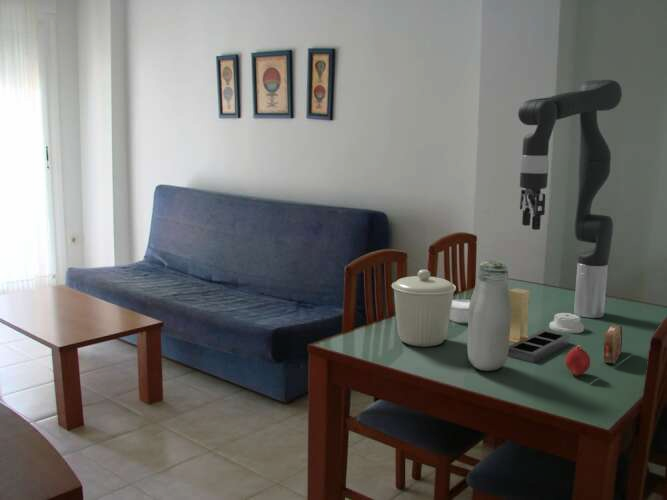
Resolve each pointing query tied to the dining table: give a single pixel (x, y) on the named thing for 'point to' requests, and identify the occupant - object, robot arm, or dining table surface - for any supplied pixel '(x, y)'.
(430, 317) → the canister
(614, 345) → the tin
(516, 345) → the compartment tray
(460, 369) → the dining table surface
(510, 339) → the tile
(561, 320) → the mechanical component
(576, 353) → the pomegranate
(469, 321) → the glass bottle
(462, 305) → the ramekin
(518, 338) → the brass block
